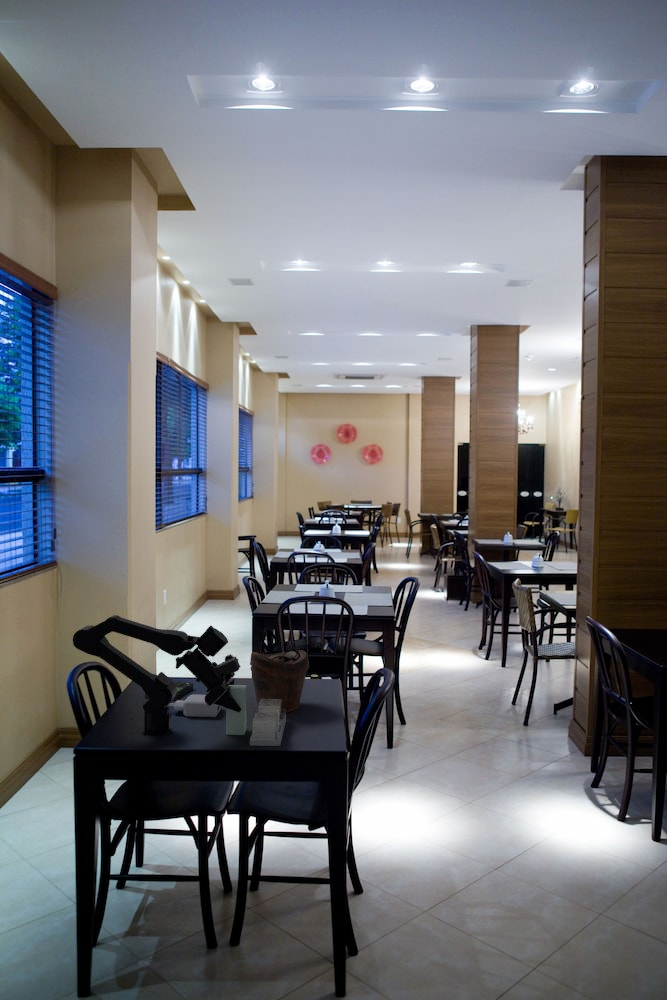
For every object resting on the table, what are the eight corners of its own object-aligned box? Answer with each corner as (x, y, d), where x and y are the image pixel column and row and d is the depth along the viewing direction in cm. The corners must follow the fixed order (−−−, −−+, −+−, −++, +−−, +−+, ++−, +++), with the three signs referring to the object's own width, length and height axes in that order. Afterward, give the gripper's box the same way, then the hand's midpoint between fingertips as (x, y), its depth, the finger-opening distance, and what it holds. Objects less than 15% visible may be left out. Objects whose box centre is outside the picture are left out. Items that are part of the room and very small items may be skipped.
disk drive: (165, 688, 256) (144, 699, 241) (165, 680, 256) (144, 691, 241) (193, 690, 253) (174, 702, 239) (193, 682, 253) (174, 693, 239)
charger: (172, 708, 231) (221, 709, 231) (164, 717, 222) (215, 718, 222) (172, 692, 231) (221, 693, 231) (164, 701, 222) (215, 702, 222)
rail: (249, 745, 198) (249, 720, 198) (258, 720, 219) (258, 698, 219) (280, 745, 198) (280, 721, 198) (285, 721, 219) (286, 698, 219)
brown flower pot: (319, 701, 240) (318, 645, 239) (293, 719, 221) (292, 658, 221) (268, 696, 246) (268, 641, 246) (239, 713, 228) (238, 653, 227)
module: (225, 734, 207) (226, 689, 206) (228, 729, 211) (228, 684, 211) (244, 735, 206) (244, 689, 206) (246, 729, 211) (246, 685, 211)
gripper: (217, 655, 199) (258, 697, 199) (227, 641, 218) (265, 679, 218) (187, 684, 199) (228, 726, 199) (200, 667, 218) (238, 706, 218)
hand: (241, 708), depth 209 cm, fingers closed on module, 4 cm apart
